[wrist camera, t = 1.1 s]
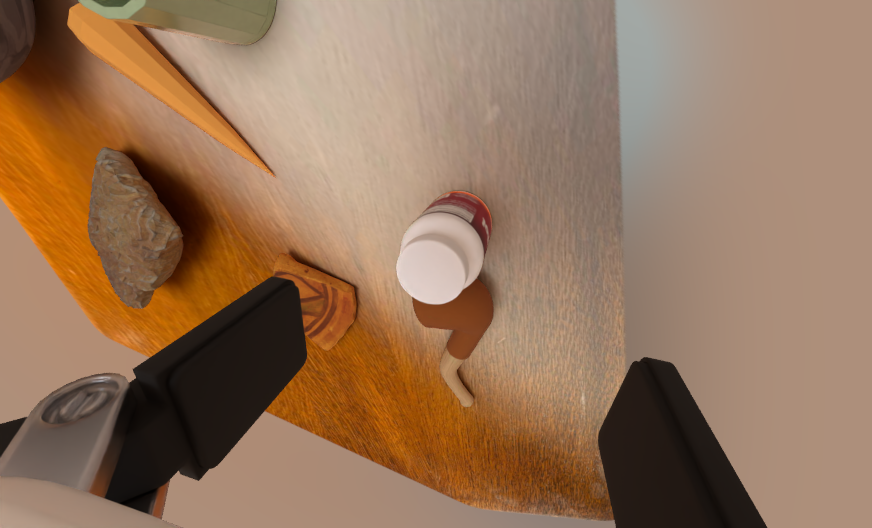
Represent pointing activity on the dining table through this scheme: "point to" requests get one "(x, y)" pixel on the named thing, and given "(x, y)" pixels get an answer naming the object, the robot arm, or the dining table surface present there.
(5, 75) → the decorative stone
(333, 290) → the pottery fragment
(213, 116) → the carrot
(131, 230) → the brown rock
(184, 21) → the cup
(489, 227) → the pill bottle
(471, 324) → the smoking pipe
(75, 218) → the dining table surface
